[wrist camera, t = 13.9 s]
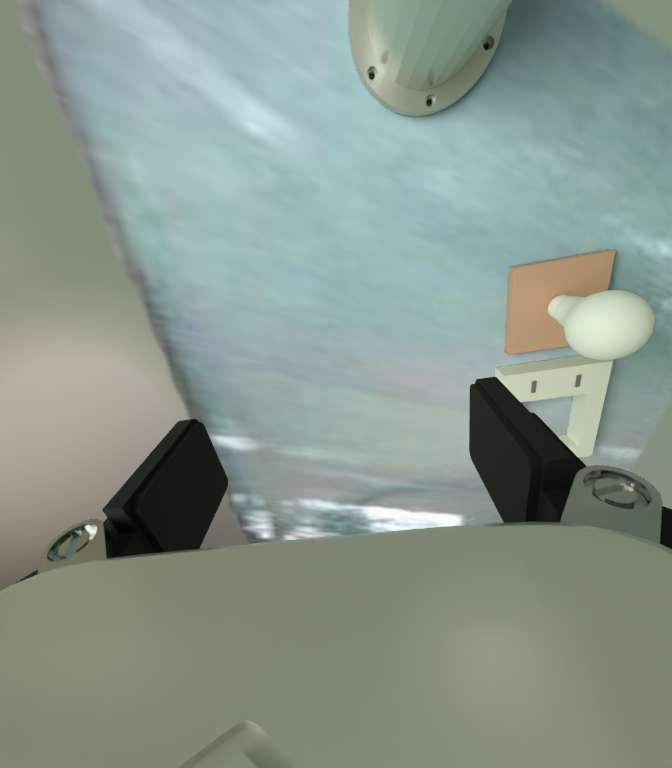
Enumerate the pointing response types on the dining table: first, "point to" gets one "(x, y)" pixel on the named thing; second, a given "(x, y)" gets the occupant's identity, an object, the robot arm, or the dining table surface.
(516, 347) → the tile
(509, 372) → the slotted square frame
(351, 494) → the dining table surface
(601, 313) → the lightbulb
